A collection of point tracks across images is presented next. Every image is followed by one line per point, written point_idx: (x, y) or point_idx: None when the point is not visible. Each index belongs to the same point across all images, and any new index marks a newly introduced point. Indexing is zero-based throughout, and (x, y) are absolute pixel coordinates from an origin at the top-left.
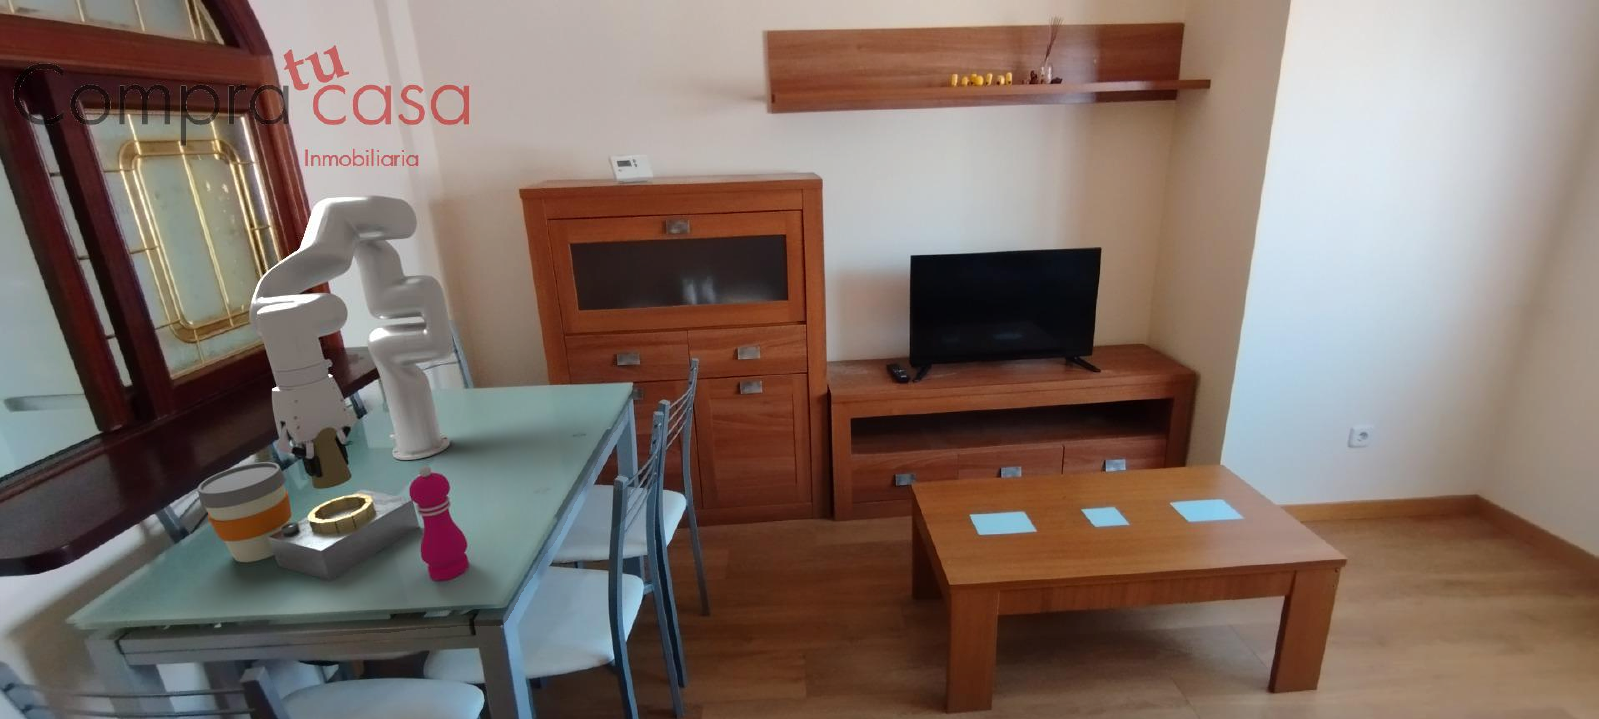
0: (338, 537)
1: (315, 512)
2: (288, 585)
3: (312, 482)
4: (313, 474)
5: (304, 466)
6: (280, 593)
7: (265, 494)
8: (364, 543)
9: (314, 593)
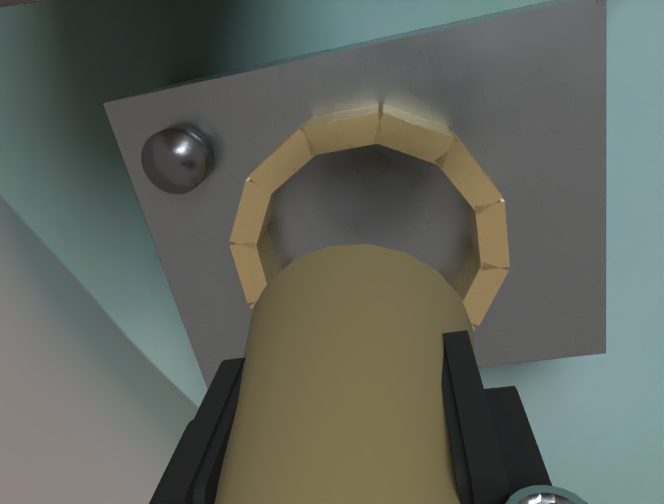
0: None
1: (279, 185)
2: None
3: (249, 327)
4: None
5: (172, 460)
6: (131, 265)
7: (36, 1)
8: None
9: None
